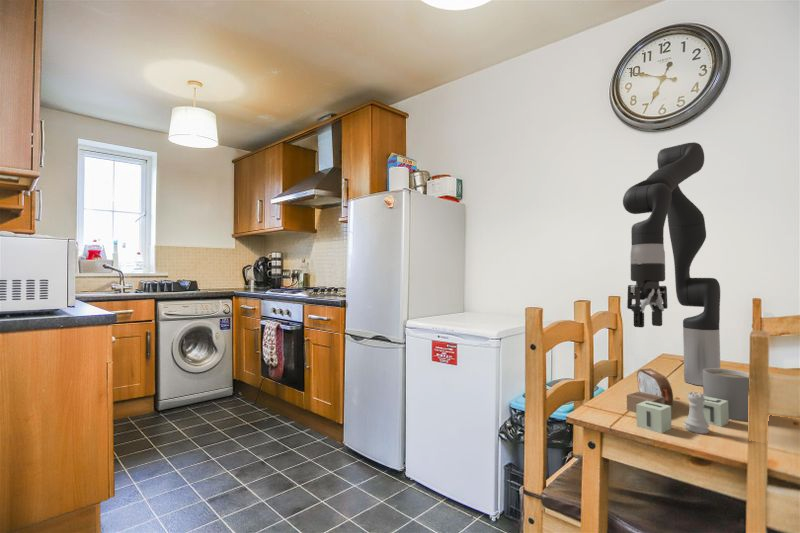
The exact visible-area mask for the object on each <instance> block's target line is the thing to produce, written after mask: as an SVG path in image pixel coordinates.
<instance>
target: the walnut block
mask: <svg viewBox="0 0 800 533" xmlns="http://www.w3.org/2000/svg"><path fill="white" fill-rule="evenodd" d="M644 401H651V402H655V403H660V404H664V405H665V398H664V397H661V396H657V395H653V394H648V393H644V392H640V391H636V392H633V393H629V394H626V411H628V412H633V413H635V414H637V413H636V404H639V403H641V402H644Z"/></svg>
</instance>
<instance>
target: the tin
mask: <svg viewBox="0 0 800 533" xmlns="http://www.w3.org/2000/svg"><path fill="white" fill-rule="evenodd" d="M636 377H637V387H638V388H637V389H638V392H644V393H648V394H653V395H657V396H661V397H664V398H665V405H669V406H671V407H672V406H673V402H674V394H673V389H672V386H671V383H670V381H669V379H668V378H667V377H666V376H665V375H664V374H663V373H660V372H658V371H656V370H654V369H652V368H640V369H639V370H637V374H636Z"/></svg>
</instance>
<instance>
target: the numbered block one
mask: <svg viewBox="0 0 800 533" xmlns="http://www.w3.org/2000/svg"><path fill="white" fill-rule="evenodd" d="M635 414H636V427H637V428H641V429H643V430H648V431H652V432H654V433H658V434H661V435H662V434H664V433H665V432H667V431H670V430H671V429H672V406H669V405H664V404H660V403H655V402H651V401H644V402H641V403H639V404H636V413H635Z"/></svg>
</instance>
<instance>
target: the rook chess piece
mask: <svg viewBox="0 0 800 533" xmlns="http://www.w3.org/2000/svg"><path fill="white" fill-rule="evenodd" d="M686 397H687V399H688V401H689V402H688V406H689V410H688V415H687V418H686V419H685V420H684V424H685V425H684V428H685V429H686V431H687V432H688V431H689V432H691V433H694V434H698V435H699V434H700V435H707V434H709V432H711V431H710V429H709V427H710V424H708V423H707V422H706V420H705V417H704V412H703V407H704V405H703V402H704V401H705V400H706V399H705V398H704V397H703V393H701V392H695V391H693V392H692V391H689V392H688V395H687V396H686Z"/></svg>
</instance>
